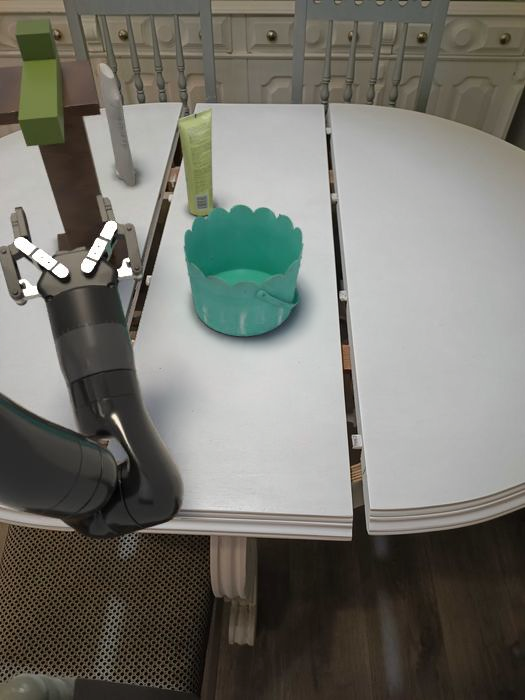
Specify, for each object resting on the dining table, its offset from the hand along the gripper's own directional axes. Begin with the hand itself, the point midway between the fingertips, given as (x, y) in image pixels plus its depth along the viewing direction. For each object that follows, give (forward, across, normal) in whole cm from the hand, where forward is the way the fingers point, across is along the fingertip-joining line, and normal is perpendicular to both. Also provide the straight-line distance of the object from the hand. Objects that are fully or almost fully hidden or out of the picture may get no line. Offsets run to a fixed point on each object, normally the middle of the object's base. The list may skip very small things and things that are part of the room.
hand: (60, 203), depth 59 cm
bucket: (-7, -24, +28) cm, 38 cm away
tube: (+18, -24, +41) cm, 51 cm away
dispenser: (+34, -12, +49) cm, 61 cm away
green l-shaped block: (+16, -1, +3) cm, 16 cm away
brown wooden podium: (+8, -1, +36) cm, 37 cm away
